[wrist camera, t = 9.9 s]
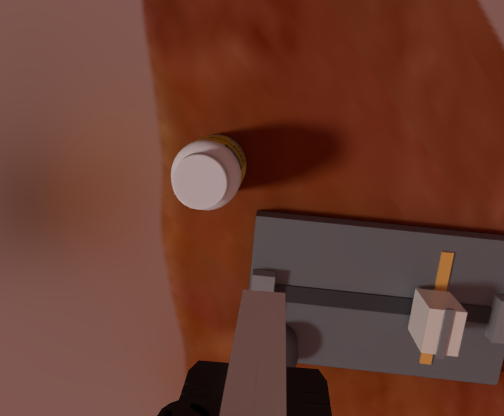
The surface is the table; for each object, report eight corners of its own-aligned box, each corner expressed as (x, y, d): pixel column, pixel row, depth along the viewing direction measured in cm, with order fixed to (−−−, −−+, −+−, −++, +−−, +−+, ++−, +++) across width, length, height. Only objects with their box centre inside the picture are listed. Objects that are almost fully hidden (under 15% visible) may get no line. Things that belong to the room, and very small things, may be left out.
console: (257, 210, 43) (254, 223, 38) (520, 236, 42) (549, 253, 37) (244, 345, 46) (240, 372, 42) (487, 372, 45) (510, 403, 41)
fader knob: (415, 286, 41) (431, 307, 37) (450, 289, 41) (469, 312, 37) (407, 330, 42) (421, 356, 38) (440, 334, 42) (458, 361, 38)
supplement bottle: (258, 155, 41) (253, 174, 32) (225, 203, 43) (210, 235, 33) (208, 121, 41) (187, 129, 31) (176, 170, 42) (146, 193, 33)
